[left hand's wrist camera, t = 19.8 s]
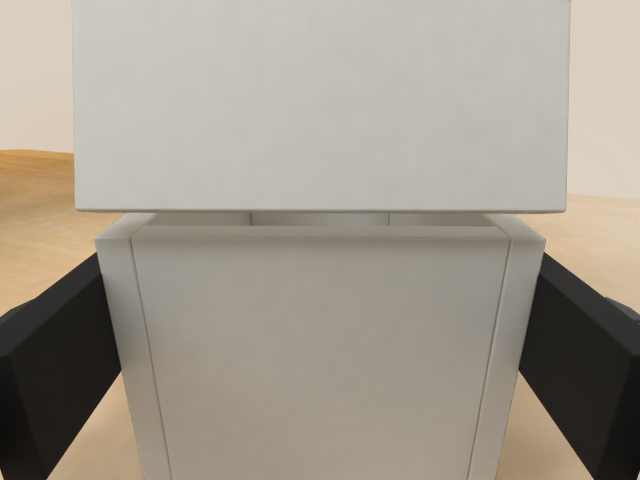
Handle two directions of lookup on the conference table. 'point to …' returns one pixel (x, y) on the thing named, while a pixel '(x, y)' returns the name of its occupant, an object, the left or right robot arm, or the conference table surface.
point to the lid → (321, 106)
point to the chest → (319, 341)
